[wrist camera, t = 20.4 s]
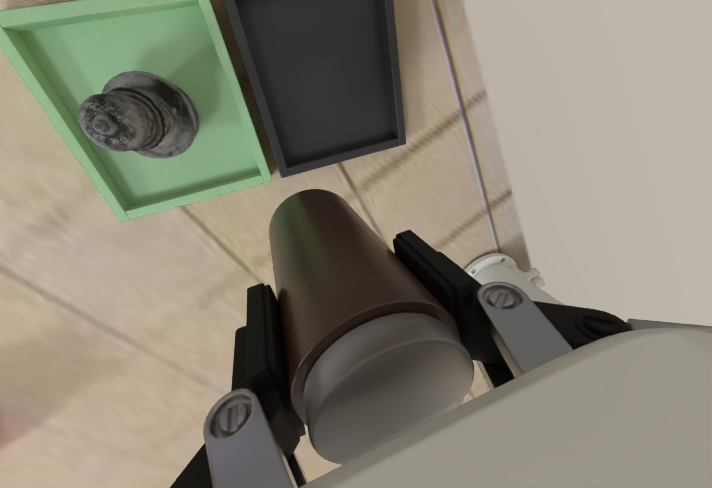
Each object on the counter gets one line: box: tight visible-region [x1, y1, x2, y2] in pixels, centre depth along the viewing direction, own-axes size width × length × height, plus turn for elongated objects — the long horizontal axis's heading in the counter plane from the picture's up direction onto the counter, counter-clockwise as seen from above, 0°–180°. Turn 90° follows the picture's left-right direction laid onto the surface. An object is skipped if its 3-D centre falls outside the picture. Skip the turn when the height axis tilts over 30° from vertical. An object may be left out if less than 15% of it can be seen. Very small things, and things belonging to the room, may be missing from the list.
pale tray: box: [0, 0, 272, 222], centre depth 23 cm, size 14×15×2 cm
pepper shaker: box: [269, 189, 474, 465], centre depth 11 cm, size 5×5×11 cm
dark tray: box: [223, 0, 406, 178], centre depth 26 cm, size 14×15×2 cm
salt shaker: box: [78, 71, 200, 159], centre depth 18 cm, size 6×6×12 cm
